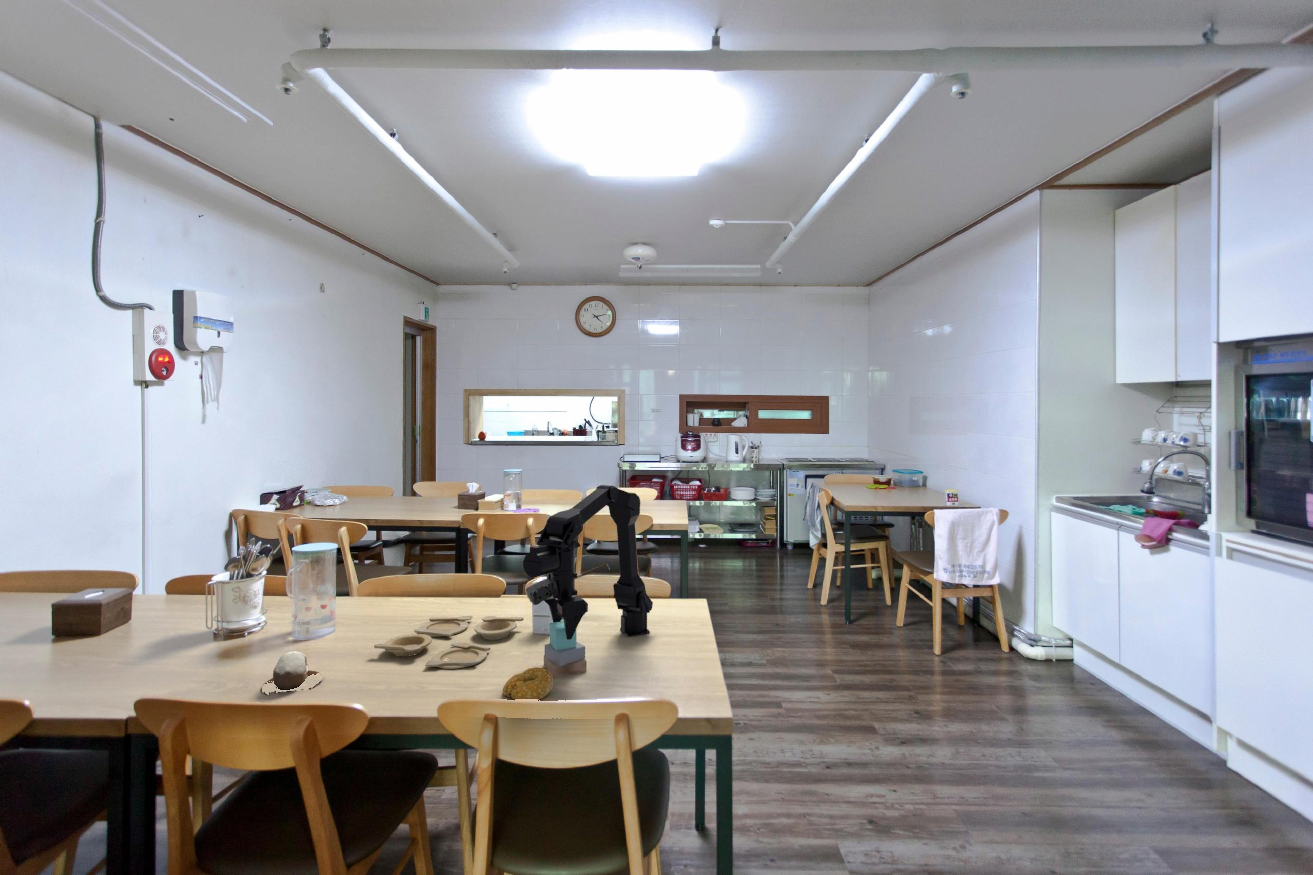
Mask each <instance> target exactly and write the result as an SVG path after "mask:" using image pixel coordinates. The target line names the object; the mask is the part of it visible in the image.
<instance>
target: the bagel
mask: <svg viewBox="0 0 1313 875" xmlns="http://www.w3.org/2000/svg"><path fill="white" fill-rule="evenodd" d="M553 687H554V677H553V676H552V674H551V673H550V672H549V671H548V670H547V668H546V669H545V668H542V667H539V666H538V667H536V666H534V667H530V668H527V669H526V670H524V671H523V672H520V673H517V674H514V675H513V676H511V677H510V678H509V679H508V680H506V682H505V684H504V685H503V688H502V693H503V696H505V697H508V698H512V699H540V700H542V699H544V698H546V696H547V695H548V694H549V693H551V691H552V689H553Z"/></svg>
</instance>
